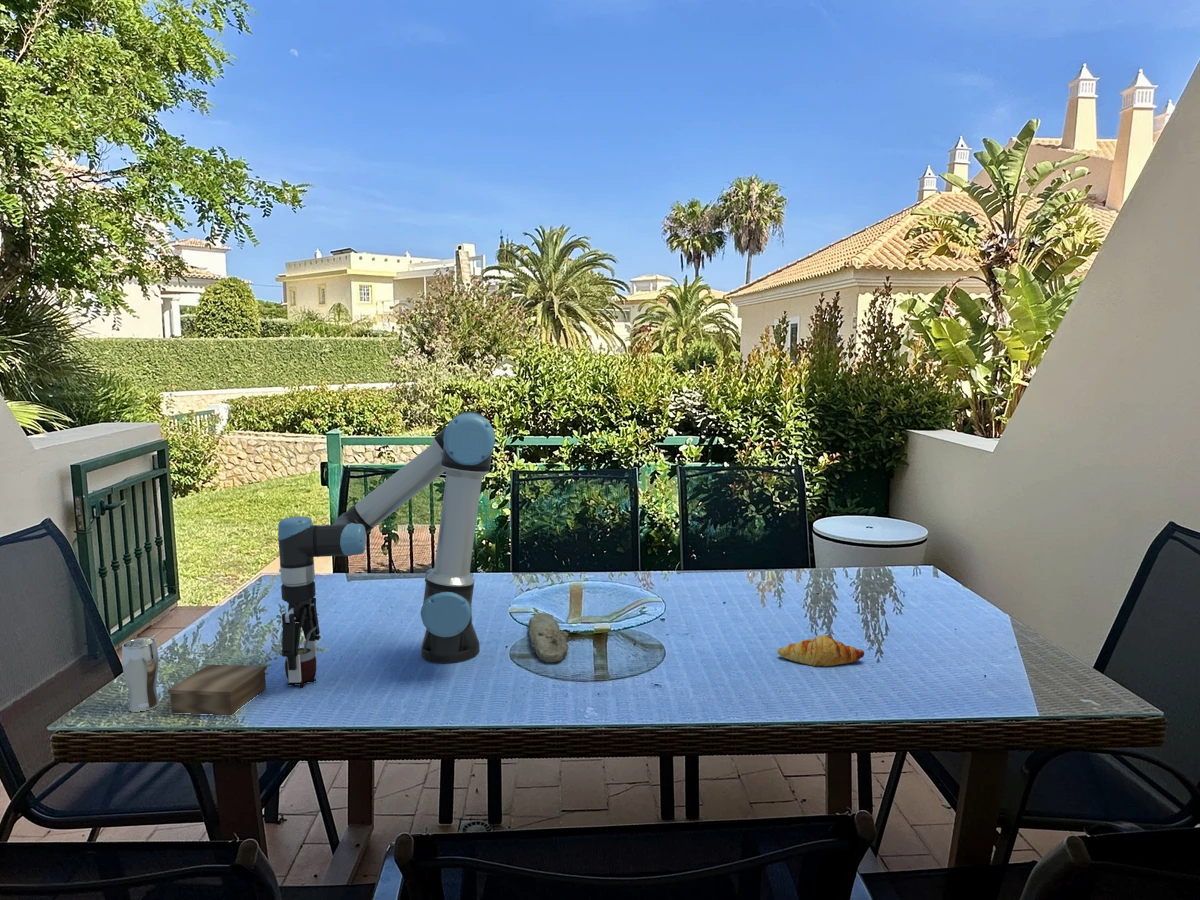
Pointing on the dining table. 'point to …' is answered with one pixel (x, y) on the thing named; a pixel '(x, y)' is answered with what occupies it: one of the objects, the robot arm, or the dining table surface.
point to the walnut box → (218, 689)
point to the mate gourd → (305, 663)
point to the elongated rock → (547, 638)
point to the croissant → (821, 652)
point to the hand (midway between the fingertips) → (303, 674)
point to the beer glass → (141, 673)
